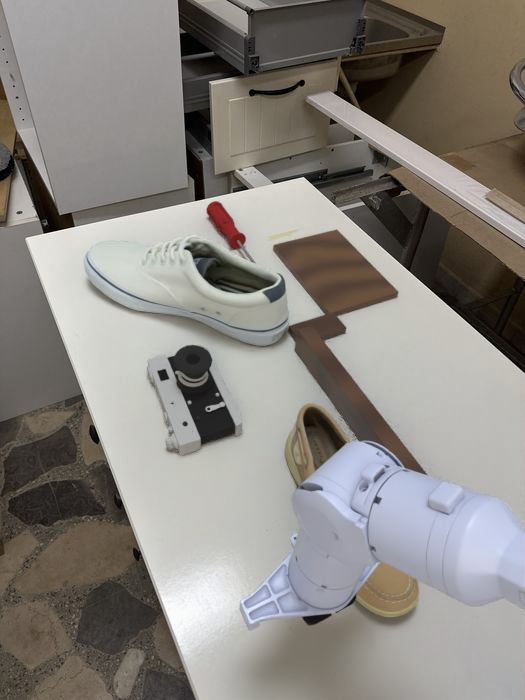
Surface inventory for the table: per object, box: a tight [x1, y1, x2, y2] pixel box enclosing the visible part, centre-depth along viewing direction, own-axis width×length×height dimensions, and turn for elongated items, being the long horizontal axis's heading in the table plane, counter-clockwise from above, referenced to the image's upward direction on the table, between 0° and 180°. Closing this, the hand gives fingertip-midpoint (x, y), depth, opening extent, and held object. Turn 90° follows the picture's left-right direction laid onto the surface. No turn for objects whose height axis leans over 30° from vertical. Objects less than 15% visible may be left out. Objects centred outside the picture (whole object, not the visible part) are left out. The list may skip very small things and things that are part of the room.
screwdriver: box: [206, 201, 257, 264], centre depth 95 cm, size 4×25×4 cm, turn 26°
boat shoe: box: [284, 402, 420, 618], centre depth 59 cm, size 9×25×8 cm, turn 25°
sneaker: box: [83, 234, 291, 347], centre depth 82 cm, size 13×36×12 cm, turn 70°
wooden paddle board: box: [272, 229, 428, 475], centre depth 79 cm, size 60×23×4 cm, turn 27°
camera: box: [146, 344, 243, 456], centre depth 70 cm, size 15×7×10 cm
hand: (307, 607), depth 51 cm, fingers closed
